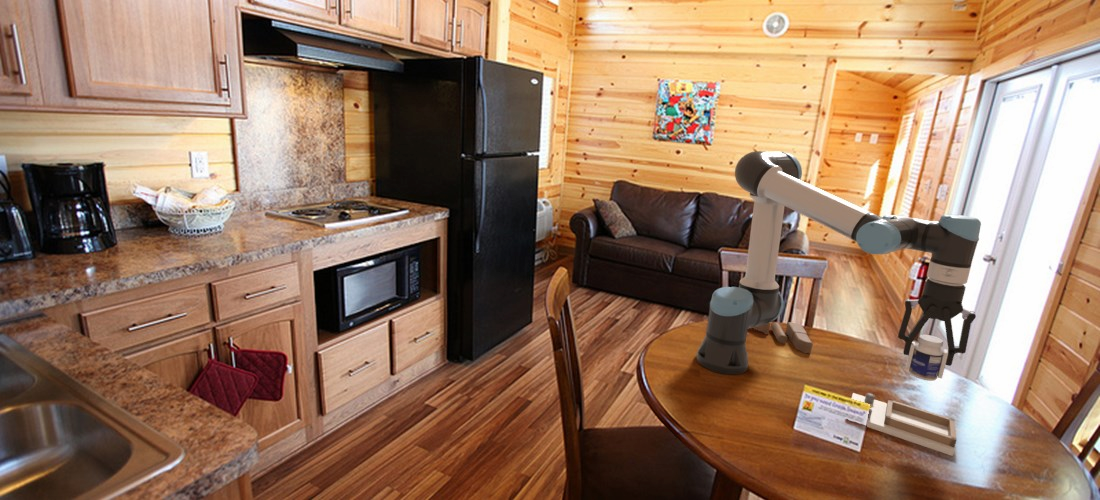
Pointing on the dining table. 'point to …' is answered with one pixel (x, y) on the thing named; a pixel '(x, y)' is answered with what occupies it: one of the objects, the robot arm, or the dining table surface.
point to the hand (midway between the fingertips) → (923, 371)
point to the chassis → (911, 424)
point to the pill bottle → (927, 358)
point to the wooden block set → (789, 335)
